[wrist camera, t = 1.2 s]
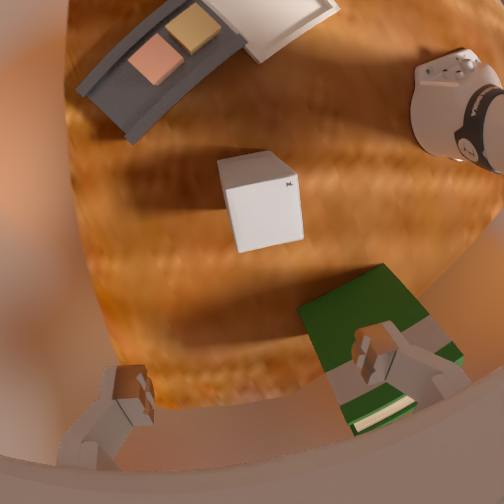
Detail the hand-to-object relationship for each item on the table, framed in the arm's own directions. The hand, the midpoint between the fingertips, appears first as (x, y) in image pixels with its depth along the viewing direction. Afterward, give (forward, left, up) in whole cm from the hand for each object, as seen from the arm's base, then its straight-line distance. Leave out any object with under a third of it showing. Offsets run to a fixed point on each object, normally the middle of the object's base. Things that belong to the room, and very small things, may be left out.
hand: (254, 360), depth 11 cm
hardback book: (-1, +34, -33) cm, 48 cm away
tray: (-20, -14, -33) cm, 41 cm away
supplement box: (-2, +5, -33) cm, 34 cm away
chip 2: (-4, -14, -29) cm, 32 cm away
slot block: (-4, -14, -33) cm, 36 cm away
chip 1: (-9, -14, -29) cm, 33 cm away
